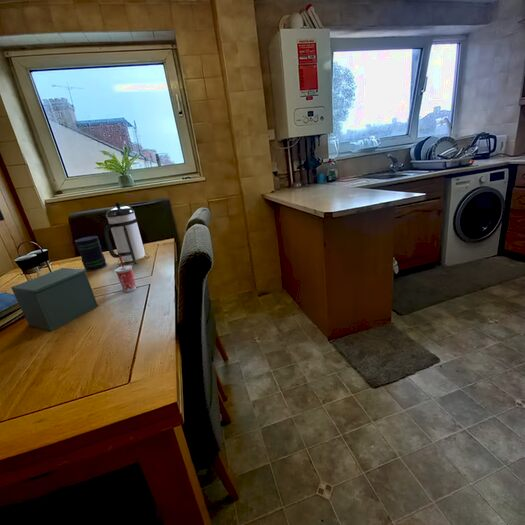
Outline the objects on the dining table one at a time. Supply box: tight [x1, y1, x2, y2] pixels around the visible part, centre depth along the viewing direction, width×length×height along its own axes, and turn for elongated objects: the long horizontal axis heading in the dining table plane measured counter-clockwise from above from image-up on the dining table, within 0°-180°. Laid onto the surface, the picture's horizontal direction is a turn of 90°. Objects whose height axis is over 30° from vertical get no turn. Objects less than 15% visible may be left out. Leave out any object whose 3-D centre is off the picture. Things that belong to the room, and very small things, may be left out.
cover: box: [10, 267, 88, 293], centre depth 89 cm, size 13×16×1 cm
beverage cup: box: [114, 256, 137, 293], centre depth 106 cm, size 6×6×14 cm
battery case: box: [11, 272, 99, 332], centre depth 91 cm, size 13×16×13 cm
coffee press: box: [103, 201, 150, 265], centre depth 136 cm, size 17×16×30 cm
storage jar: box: [74, 235, 107, 272], centre depth 137 cm, size 10×10×15 cm
